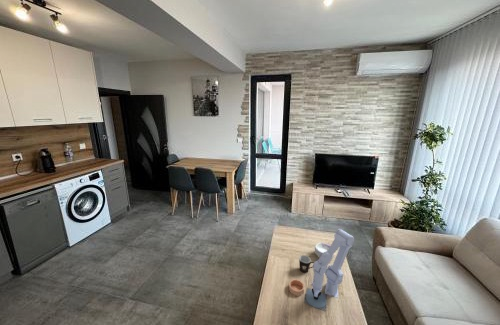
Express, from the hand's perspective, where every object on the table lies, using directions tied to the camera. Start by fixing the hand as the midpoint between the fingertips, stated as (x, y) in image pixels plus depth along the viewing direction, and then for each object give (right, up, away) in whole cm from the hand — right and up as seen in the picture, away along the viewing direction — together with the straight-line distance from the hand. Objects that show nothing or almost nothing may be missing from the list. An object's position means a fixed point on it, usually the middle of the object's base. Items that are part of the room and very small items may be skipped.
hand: (316, 297), depth 131 cm
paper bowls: (+20, +7, +41) cm, 46 cm away
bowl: (-11, 0, +7) cm, 13 cm away
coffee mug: (0, +4, +24) cm, 24 cm away
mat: (0, -2, 0) cm, 2 cm away
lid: (0, -1, 0) cm, 1 cm away
